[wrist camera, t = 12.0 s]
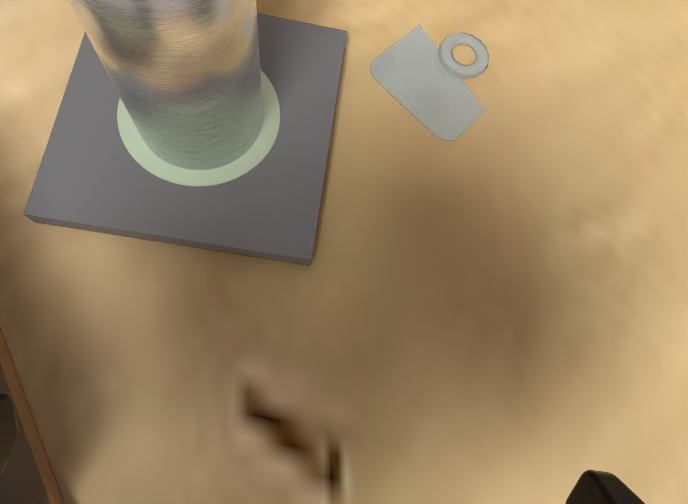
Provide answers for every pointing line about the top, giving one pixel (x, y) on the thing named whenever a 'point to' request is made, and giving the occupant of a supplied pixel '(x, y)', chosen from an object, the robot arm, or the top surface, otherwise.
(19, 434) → the control unit
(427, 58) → the mounting bracket
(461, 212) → the top surface
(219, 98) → the canister
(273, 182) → the pad
